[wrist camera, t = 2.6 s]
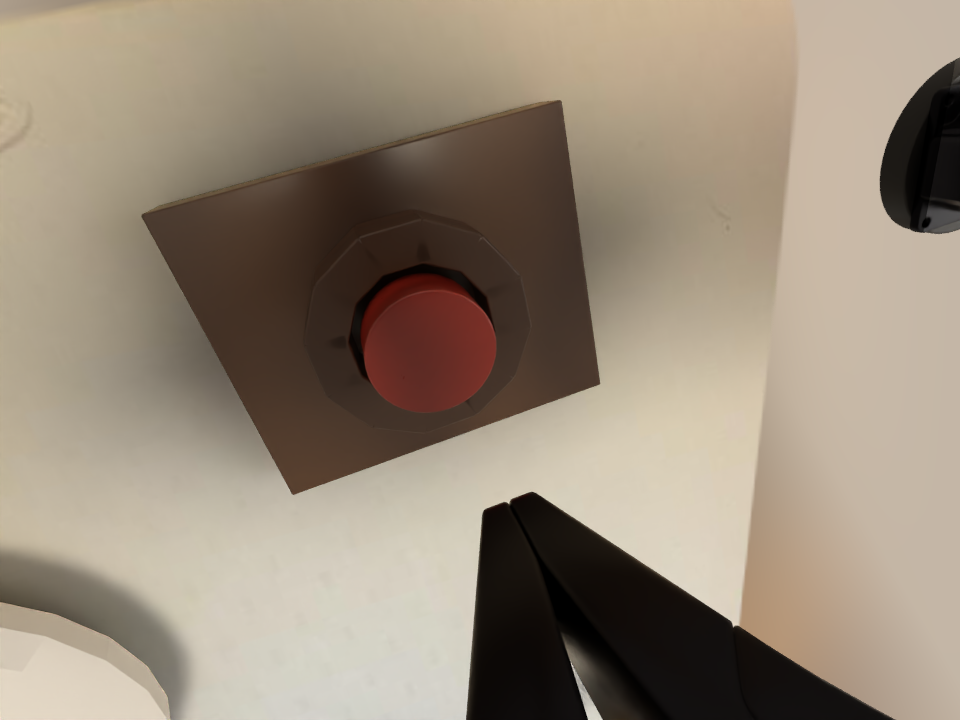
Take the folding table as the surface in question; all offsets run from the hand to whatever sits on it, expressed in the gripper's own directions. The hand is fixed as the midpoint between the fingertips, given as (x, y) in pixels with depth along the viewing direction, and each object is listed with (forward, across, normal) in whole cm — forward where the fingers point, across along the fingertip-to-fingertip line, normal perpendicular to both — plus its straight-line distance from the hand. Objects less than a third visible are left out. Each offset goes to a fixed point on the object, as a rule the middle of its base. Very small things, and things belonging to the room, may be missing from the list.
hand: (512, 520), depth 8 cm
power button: (+8, 0, 0) cm, 8 cm away
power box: (+11, 0, 0) cm, 11 cm away
